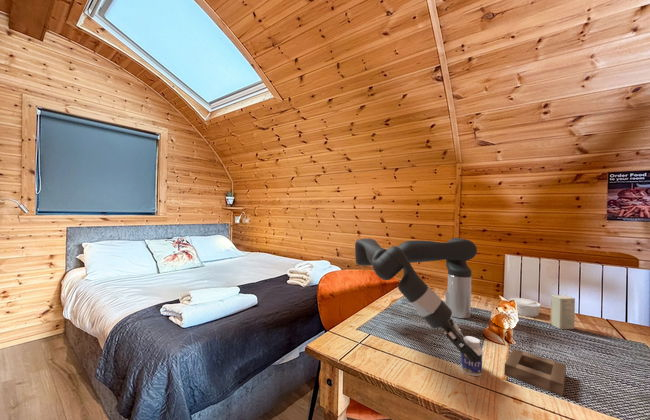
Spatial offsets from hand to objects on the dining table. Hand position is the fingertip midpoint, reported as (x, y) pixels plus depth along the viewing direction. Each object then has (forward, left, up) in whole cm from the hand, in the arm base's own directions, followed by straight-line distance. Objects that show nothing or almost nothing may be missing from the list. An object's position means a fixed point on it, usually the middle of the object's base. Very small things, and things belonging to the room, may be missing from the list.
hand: (472, 352), depth 75 cm
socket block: (+13, +11, -5) cm, 18 cm away
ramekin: (+3, +67, -6) cm, 67 cm away
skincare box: (+16, +60, -6) cm, 62 cm away
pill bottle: (0, 0, -6) cm, 6 cm away
